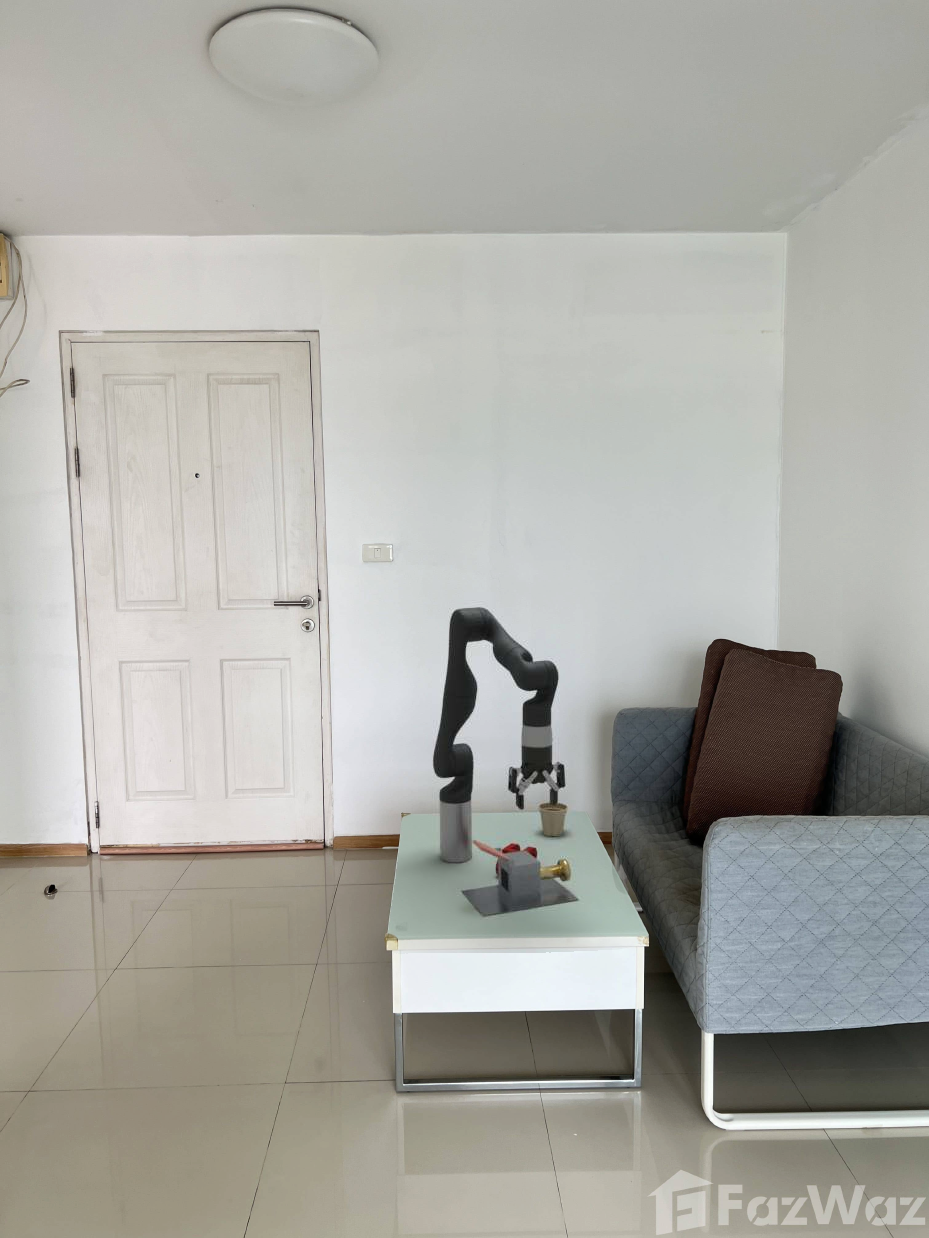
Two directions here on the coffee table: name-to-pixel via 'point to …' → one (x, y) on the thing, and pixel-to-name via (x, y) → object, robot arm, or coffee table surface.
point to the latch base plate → (518, 887)
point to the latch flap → (491, 851)
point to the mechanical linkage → (516, 848)
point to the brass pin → (557, 871)
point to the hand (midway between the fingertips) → (536, 806)
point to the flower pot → (552, 818)
